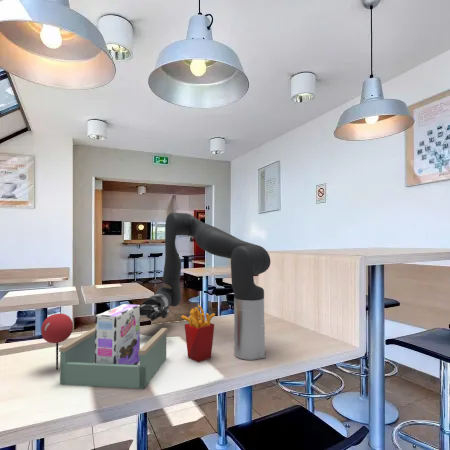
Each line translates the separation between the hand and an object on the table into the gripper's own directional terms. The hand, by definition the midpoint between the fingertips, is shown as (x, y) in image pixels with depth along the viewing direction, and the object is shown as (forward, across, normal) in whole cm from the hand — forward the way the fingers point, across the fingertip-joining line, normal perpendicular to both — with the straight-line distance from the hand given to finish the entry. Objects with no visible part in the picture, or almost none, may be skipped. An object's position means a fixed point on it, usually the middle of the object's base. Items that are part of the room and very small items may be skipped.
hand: (139, 317), depth 100 cm
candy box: (+15, 0, +10) cm, 18 cm away
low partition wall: (+15, 0, +10) cm, 18 cm away
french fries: (+4, +19, +10) cm, 22 cm away
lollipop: (+16, -17, +10) cm, 26 cm away
